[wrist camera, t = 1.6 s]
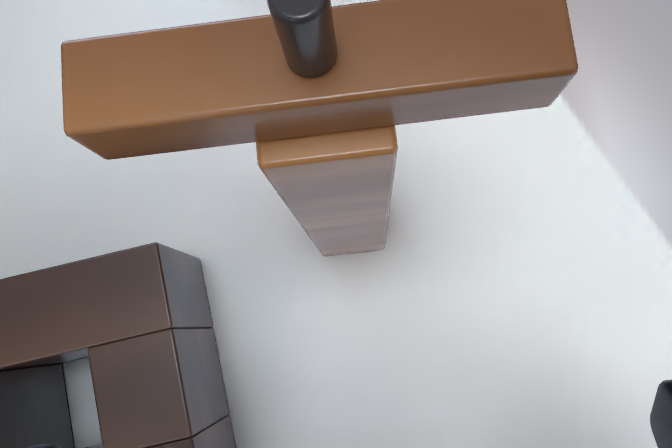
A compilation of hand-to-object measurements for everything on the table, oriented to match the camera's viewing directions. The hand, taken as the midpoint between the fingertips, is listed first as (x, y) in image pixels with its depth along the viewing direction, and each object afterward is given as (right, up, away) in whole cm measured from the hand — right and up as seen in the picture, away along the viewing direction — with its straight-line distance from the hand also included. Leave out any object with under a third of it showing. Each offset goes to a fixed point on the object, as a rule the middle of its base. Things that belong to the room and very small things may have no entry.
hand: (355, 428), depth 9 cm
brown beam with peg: (0, +3, +13) cm, 13 cm away
